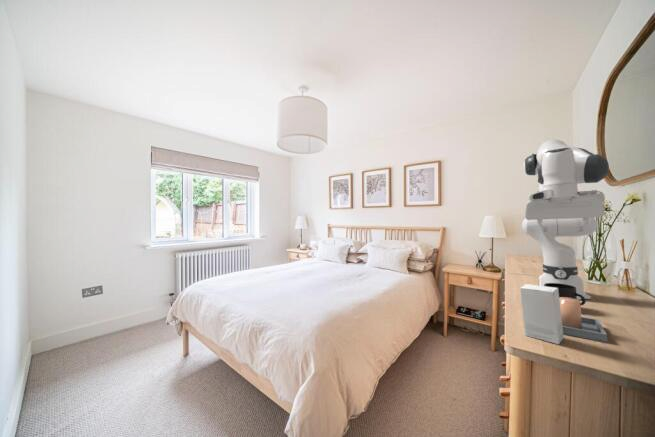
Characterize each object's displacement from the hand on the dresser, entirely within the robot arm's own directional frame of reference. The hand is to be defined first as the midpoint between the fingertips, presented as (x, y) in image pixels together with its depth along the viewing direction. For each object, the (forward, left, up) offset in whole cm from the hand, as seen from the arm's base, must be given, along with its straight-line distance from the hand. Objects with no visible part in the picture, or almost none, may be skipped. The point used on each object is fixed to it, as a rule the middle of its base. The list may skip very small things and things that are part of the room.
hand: (562, 231), depth 85 cm
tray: (+7, 0, -32) cm, 33 cm away
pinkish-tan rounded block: (+7, 0, -32) cm, 32 cm away
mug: (-16, 0, -32) cm, 36 cm away
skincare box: (+20, -7, -32) cm, 39 cm away
